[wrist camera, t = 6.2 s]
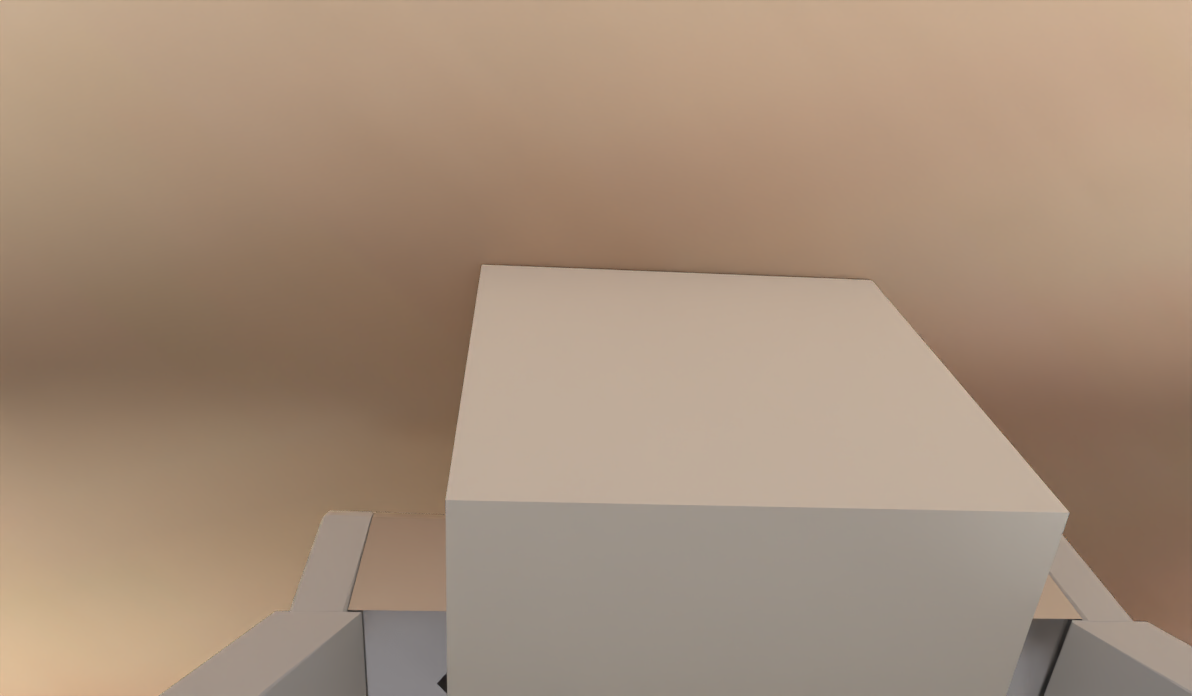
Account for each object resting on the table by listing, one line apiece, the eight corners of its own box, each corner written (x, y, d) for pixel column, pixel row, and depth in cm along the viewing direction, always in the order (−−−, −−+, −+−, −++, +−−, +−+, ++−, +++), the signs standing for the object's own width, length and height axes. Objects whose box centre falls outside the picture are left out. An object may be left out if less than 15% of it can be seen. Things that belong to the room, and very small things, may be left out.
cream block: (872, 279, 12) (1069, 513, 8) (808, 584, 14) (932, 904, 10) (481, 264, 12) (444, 500, 7) (478, 579, 14) (449, 911, 9)
